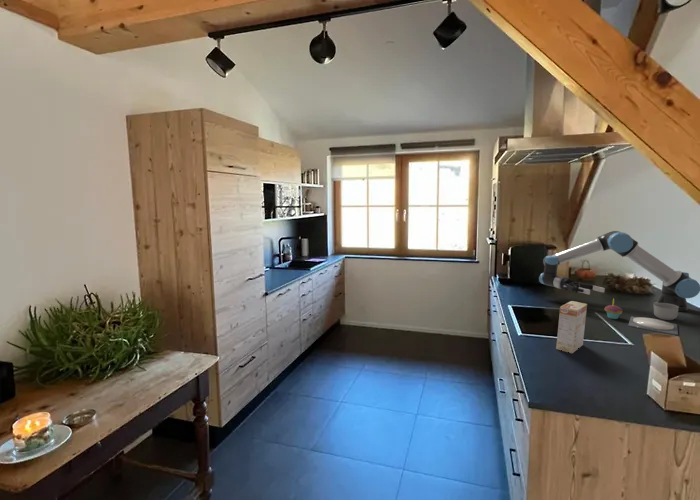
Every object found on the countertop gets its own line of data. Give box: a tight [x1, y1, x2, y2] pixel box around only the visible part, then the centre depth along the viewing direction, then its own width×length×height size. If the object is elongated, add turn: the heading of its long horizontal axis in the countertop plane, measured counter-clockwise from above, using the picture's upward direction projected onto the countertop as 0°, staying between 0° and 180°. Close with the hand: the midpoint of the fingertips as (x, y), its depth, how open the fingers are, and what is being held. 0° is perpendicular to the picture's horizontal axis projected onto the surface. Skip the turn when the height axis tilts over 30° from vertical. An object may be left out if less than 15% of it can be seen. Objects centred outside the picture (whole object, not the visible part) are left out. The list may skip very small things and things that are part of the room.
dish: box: [627, 316, 679, 336], centre depth 203 cm, size 20×20×2 cm
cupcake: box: [604, 297, 623, 320], centre depth 215 cm, size 9×8×12 cm
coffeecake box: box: [555, 300, 588, 354], centre depth 170 cm, size 15×7×20 cm, turn 133°
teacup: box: [652, 301, 679, 321], centre depth 217 cm, size 14×11×8 cm
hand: (597, 291), depth 223 cm, fingers open, 13 cm apart
